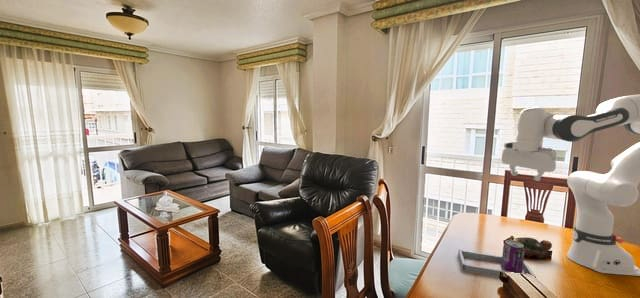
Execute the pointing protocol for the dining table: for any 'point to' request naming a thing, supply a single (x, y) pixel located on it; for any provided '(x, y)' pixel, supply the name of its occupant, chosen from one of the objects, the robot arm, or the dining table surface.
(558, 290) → the dining table surface
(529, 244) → the clay ocarina
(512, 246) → the beverage can
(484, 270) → the frame
